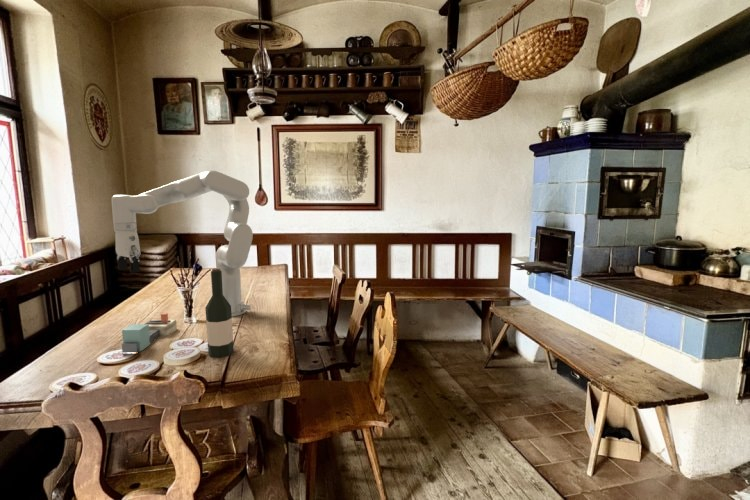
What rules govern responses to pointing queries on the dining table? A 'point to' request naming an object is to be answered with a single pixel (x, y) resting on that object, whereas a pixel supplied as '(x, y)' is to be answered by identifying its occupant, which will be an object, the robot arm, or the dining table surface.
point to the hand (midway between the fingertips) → (128, 270)
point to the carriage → (137, 335)
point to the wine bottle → (219, 319)
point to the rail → (134, 345)
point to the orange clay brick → (164, 317)
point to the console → (163, 326)
